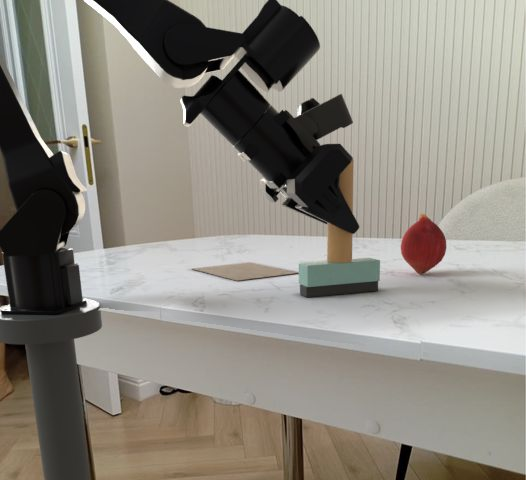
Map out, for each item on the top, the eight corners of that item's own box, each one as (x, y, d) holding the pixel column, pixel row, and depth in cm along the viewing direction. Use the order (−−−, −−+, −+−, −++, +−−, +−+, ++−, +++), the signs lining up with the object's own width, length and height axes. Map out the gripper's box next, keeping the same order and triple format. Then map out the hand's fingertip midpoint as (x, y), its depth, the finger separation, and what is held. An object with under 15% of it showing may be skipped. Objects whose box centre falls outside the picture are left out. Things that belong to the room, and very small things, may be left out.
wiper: (307, 298, 65) (307, 159, 61) (298, 293, 68) (297, 160, 64) (380, 291, 68) (383, 158, 64) (368, 287, 70) (371, 159, 66)
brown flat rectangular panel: (299, 273, 83) (299, 272, 83) (237, 281, 78) (237, 280, 78) (248, 263, 94) (248, 262, 94) (191, 269, 89) (191, 268, 89)
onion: (450, 272, 80) (454, 212, 78) (436, 279, 75) (439, 214, 73) (408, 270, 83) (411, 211, 81) (392, 275, 78) (395, 214, 76)
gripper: (331, 46, 52) (441, 174, 57) (284, 81, 69) (371, 176, 74) (246, 142, 53) (361, 260, 58) (221, 152, 70) (311, 242, 75)
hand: (351, 229), depth 66 cm, fingers closed on wiper, 3 cm apart
